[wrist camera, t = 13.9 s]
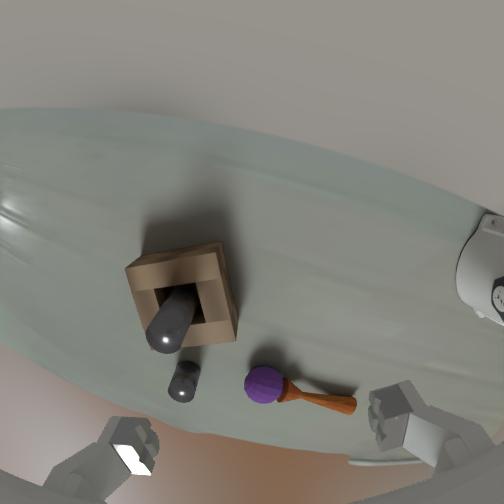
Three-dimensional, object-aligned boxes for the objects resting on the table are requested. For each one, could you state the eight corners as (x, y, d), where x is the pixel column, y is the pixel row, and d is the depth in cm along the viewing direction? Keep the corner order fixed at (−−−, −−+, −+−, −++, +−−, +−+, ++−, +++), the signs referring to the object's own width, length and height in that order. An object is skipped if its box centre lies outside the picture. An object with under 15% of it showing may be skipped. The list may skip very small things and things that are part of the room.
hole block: (221, 241, 42) (215, 252, 36) (238, 320, 45) (235, 341, 39) (140, 256, 43) (124, 268, 37) (162, 330, 46) (151, 350, 40)
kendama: (343, 427, 46) (237, 404, 43) (338, 402, 52) (239, 376, 48) (364, 409, 44) (253, 383, 40) (357, 383, 49) (254, 354, 46)
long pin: (200, 273, 43) (176, 318, 30) (206, 299, 44) (186, 352, 31) (173, 278, 44) (140, 322, 30) (180, 303, 45) (152, 355, 31)
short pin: (196, 359, 47) (189, 382, 41) (203, 378, 48) (197, 401, 42) (173, 361, 47) (164, 383, 41) (180, 380, 48) (172, 403, 42)
